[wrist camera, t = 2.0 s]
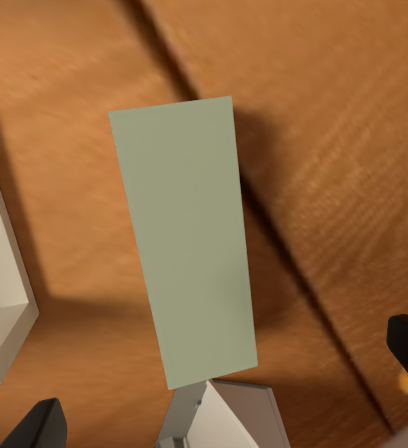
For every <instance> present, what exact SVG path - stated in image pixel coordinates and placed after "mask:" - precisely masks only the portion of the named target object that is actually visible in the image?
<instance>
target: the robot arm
mask: <svg viewBox="0 0 408 448" xmlns="http://www.w3.org/2000/svg"><path fill="white" fill-rule="evenodd" d="M386 341H387V345H388V347H389V349H390V351H391V352H392V353H393V354H394V356H395V357H396V358H397V360H398V361H399V362H400V364H401V365H402V366H403V367H404V369H405V370H406V371H407V373H408V315H407V314H400V315H395V316H392V317H390V318H389V320H388V329H387V339H386ZM66 438H67V423H66V420H65V417H64V414H63V410H62V407H61V404H60V401H59V400H58V398H50V399H46V400H42V401H39V402H38V403H37V404H36V405H35V406H34V407H33V408H32V409H31V410H30V411H29V413H28V414H27V415H26V416H25V417H24V418H23V419H22V420H21V422H20V423H19V424H18V425H17V426H16V427H15V428H14V430H13V431H12V432H11V433H10V434H9V435H8V436H7V438H6V439H5V440H4V441H3V442H2V443H1V444H0V448H66Z"/></svg>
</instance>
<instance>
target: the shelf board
mask: <svg viewBox="0 0 408 448" xmlns="http://www.w3.org/2000/svg"><path fill="white" fill-rule="evenodd" d="M108 114H109V119H110V124H111V128H112V133H113V137H114V142H115V146H116V151H117V156H118V160H119V165H120V169H121V174H122V178H123V183H124V188H125V192H126V197H127V201H128V206H129V210H130V215H131V220H132V224H133V229H134V233H135V238H136V242H137V247H138V252H139V256H140V261H141V265H142V270H143V274H144V279H145V284H146V288H147V293H148V297H149V302H150V306H151V311H152V316H153V320H154V325H155V329H156V334H157V338H158V343H159V348H160V352H161V357H162V361H163V366H164V370H165V375H166V380H167V384H168V389H169V390H171V389H175V388H179V387H182V386H186V385H190V384H194V383H197V382H201V381H205V380H208V379H212V378H216V377H219V376H223V375H227V374H230V373H234V372H238V371H241V370H245V369H249V368H252V367H256V366H258V363H257V353H256V342H255V332H254V322H253V312H252V301H251V291H250V281H249V271H248V261H247V250H246V240H245V230H244V220H243V210H242V199H241V189H240V179H239V169H238V158H237V148H236V138H235V128H234V118H233V107H232V97H231V96H226V97H218V98H211V99H203V100H195V101H187V102H180V103H172V104H164V105H157V106H149V107H141V108H133V109H126V110H118V111H110V112H108Z"/></svg>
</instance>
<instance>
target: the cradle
mask: <svg viewBox="0 0 408 448" xmlns="http://www.w3.org/2000/svg"><path fill="white" fill-rule="evenodd" d="M38 315H39V310H38V307H37V304H36V301H35V298H34V295H33V291H32V288H31V285H30V282H29V279H28V276H27V272H26V269H25V266H24V263H23V260H22V257H21V253H20V250H19V247H18V244H17V241H16V238H15V235H14V231H13V228H12V225H11V222H10V219H9V216H8V212H7V209H6V206H5V203H4V200H3V197H2V194H1V190H0V385H1V383H2V382H3V380H4V378H5V376H6V374H7V372H8V370H9V369H10V367H11V365H12V363H13V361H14V359H15V358H16V356H17V354H18V352H19V350H20V348H21V347H22V345H23V343H24V341H25V339H26V337H27V335H28V334H29V332H30V330H31V328H32V326H33V324H34V323H35V321H36V319H37V317H38Z"/></svg>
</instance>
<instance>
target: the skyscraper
mask: <svg viewBox="0 0 408 448" xmlns="http://www.w3.org/2000/svg"><path fill="white" fill-rule="evenodd" d="M154 448H291V447H290V444H289V441H288V438H287V435H286V432H285V428H284V425H283V422H282V419H281V416H280V413H279V410H278V407H277V404H276V400H275V397H274V394H273V391H272V388H271V386H264V385H256V384H248V383H241V382H233V381H225V380H217V379H208V380H205V381H201V382H197V383H194V384H190V385H186V386H182V387H179V388H176V390H175V393H174V396H173V398H172V401H171V404H170V406H169V409H168V412H167V415H166V417H165V420H164V423H163V425H162V428H161V431H160V433H159V436H158V439H157V442H156V444H155V447H154Z"/></svg>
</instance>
